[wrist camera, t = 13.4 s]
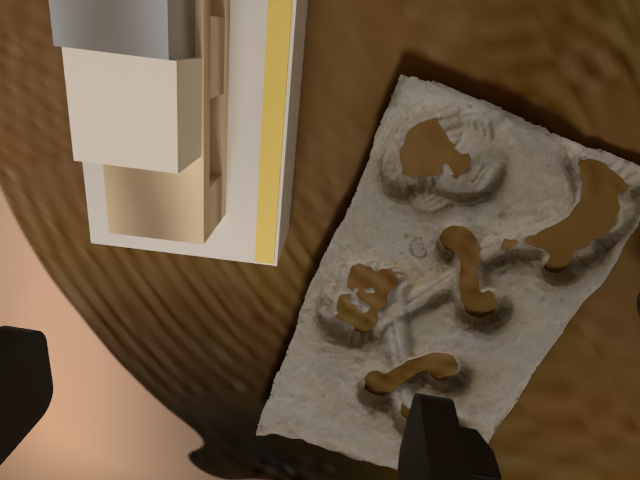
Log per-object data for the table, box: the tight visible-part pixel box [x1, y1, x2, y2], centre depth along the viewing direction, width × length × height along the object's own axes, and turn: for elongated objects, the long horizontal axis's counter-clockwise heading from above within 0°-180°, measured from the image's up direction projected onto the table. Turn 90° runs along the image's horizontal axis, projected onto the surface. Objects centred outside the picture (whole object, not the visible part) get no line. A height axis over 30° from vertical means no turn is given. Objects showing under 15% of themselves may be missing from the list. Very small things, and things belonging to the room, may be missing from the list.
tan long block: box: [103, 0, 230, 244], centre depth 22 cm, size 5×18×4 cm, turn 174°
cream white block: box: [62, 47, 202, 174], centre depth 20 cm, size 4×4×3 cm
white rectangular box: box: [83, 0, 308, 266], centre depth 27 cm, size 12×24×6 cm, turn 174°
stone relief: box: [256, 75, 640, 470], centre depth 36 cm, size 32×3×20 cm
